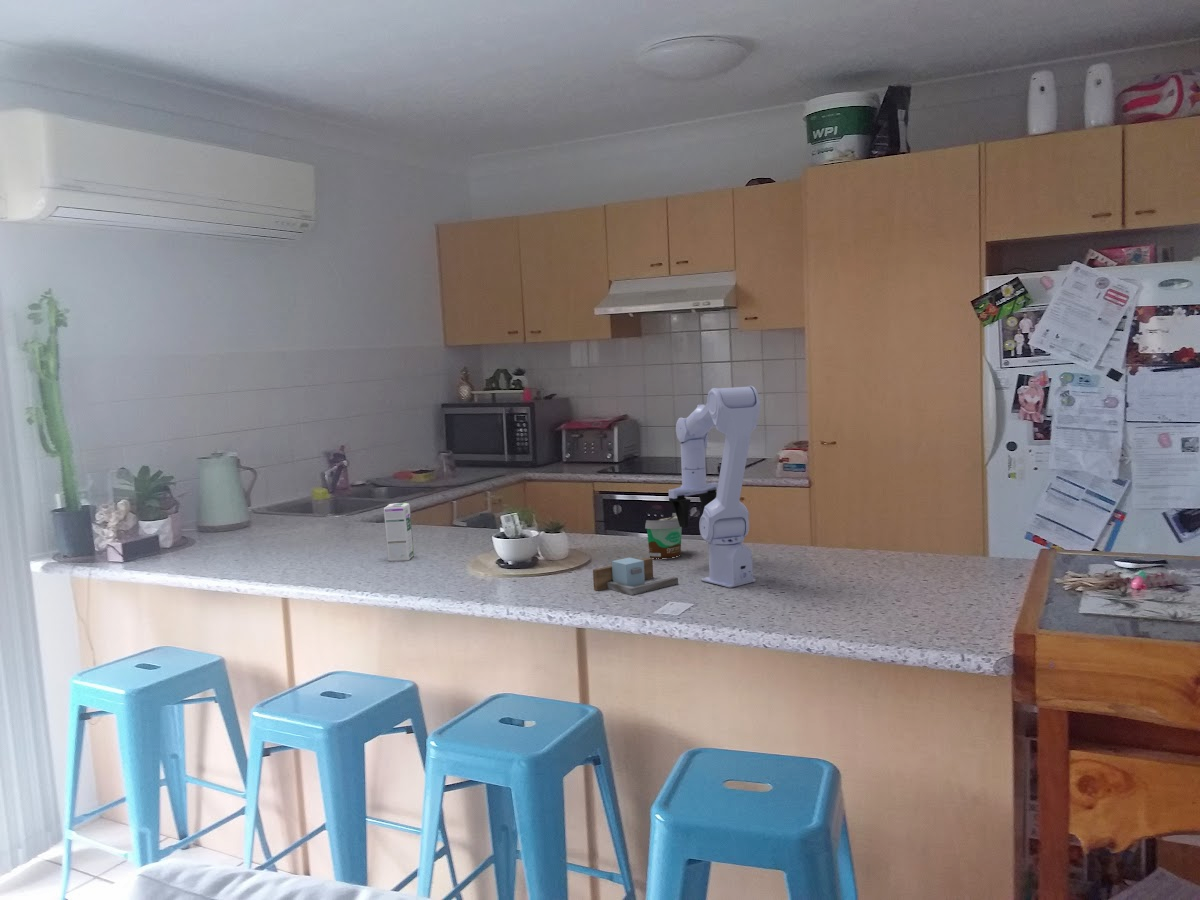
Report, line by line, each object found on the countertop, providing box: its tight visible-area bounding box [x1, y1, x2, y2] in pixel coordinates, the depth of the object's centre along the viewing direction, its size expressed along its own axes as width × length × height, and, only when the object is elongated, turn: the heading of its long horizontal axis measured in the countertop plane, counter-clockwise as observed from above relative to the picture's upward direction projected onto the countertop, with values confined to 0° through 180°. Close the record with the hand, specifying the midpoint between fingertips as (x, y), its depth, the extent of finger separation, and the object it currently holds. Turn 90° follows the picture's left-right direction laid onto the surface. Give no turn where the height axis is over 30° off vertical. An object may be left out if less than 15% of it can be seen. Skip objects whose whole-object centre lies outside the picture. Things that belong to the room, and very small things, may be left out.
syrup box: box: [383, 502, 415, 562], centre depth 250 cm, size 6×6×14 cm
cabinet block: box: [611, 556, 646, 587], centre depth 209 cm, size 6×5×6 cm
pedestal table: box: [592, 557, 679, 596], centre depth 209 cm, size 10×16×4 cm, turn 127°
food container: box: [644, 512, 683, 560], centre depth 238 cm, size 12×6×10 cm, turn 140°
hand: (695, 524), depth 226 cm, fingers open, 7 cm apart
